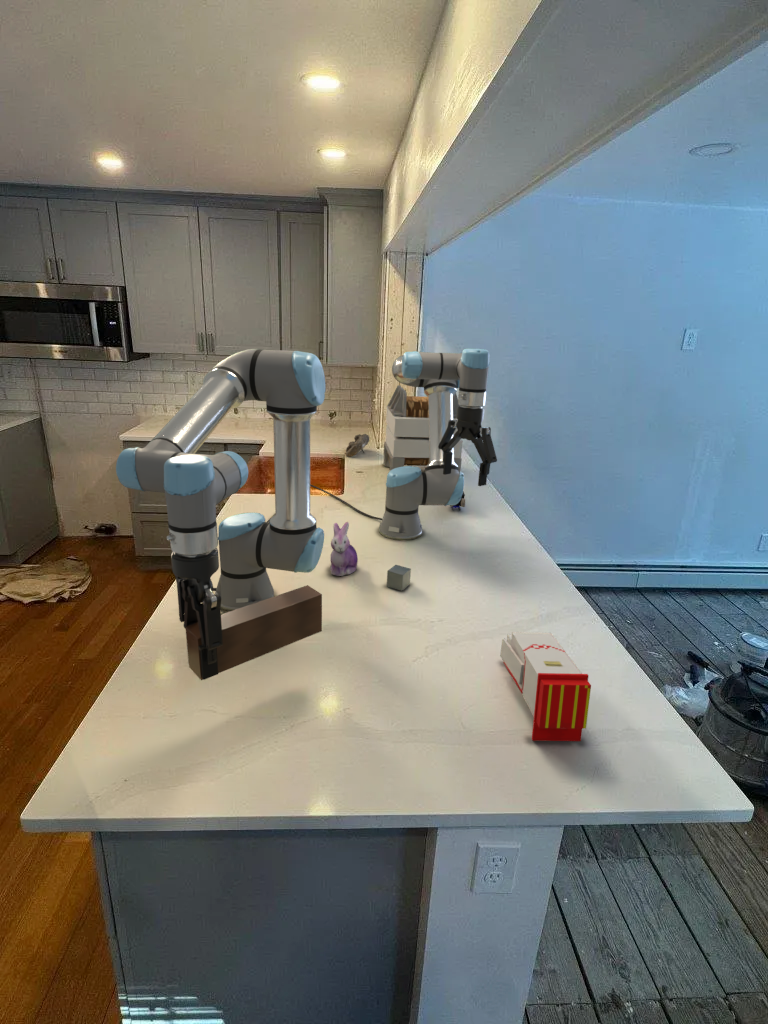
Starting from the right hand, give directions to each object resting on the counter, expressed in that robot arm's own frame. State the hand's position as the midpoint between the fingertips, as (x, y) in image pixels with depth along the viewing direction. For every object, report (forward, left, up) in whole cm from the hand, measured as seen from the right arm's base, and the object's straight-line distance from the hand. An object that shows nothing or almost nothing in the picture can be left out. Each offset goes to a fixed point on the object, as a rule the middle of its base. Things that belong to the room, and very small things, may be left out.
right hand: (464, 479), depth 165 cm
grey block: (-2, -22, -29) cm, 36 cm away
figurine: (-19, -29, -29) cm, 45 cm away
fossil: (-131, +64, -29) cm, 149 cm away
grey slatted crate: (-84, +66, -29) cm, 110 cm away
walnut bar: (+19, -78, -17) cm, 82 cm away
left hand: (+19, -89, -16) cm, 93 cm away
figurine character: (-40, +43, -29) cm, 65 cm away
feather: (-71, -22, -29) cm, 80 cm away
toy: (+52, -32, -29) cm, 67 cm away
